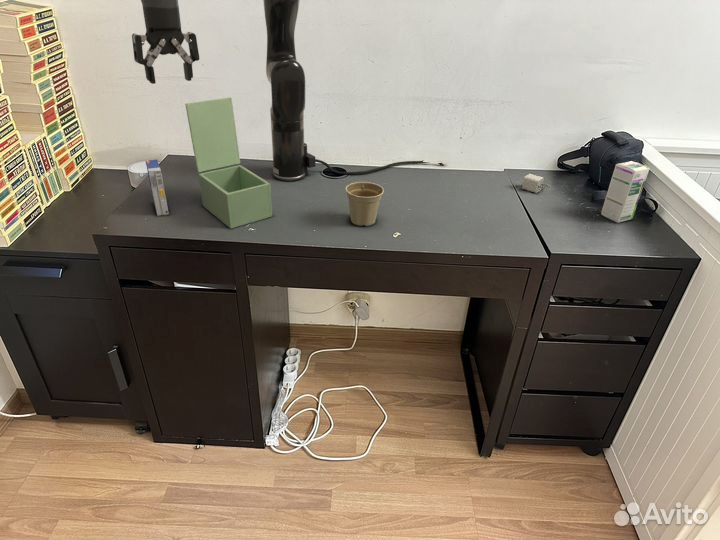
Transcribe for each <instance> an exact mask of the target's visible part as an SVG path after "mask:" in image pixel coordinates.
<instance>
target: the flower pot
mask: <svg viewBox="0 0 720 540" xmlns="http://www.w3.org/2000/svg"><path fill="white" fill-rule="evenodd" d="M344 191H345V192H346V195H347V198H348V206H349V216H350V222H351V223H352V224H353V225H355V226H359V227H361V226H365V227H369V226H371V225H374V224H375V223H376V221H377V220H376V219H377V214H378V210H379V206H380V201H381V199H382V196H383V195H384V193H385V189H384V187H383V186H382V185H380V184H378V183H376V182H375V183H374V182H371V181H355V182H352V183H349V184H347V185H346V186H345V190H344Z"/></svg>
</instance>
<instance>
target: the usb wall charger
mask: <svg viewBox="0 0 720 540" xmlns="http://www.w3.org/2000/svg"><path fill="white" fill-rule="evenodd" d="M544 181H545V178H544V177H543V176H539V175H535V174H532V173H528V174H527V175H525V176H524V178H523V182H522V185H521V186H522V187H521V190H525V191H528V192H531V193H534V194H538V193H539V192H541V190H545V191H547V190H548V189H550V188H551V185H549V184H545V183H544Z"/></svg>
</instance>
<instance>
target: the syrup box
mask: <svg viewBox="0 0 720 540" xmlns="http://www.w3.org/2000/svg"><path fill="white" fill-rule="evenodd" d="M650 169H651V168H650V167H649V166H647V165H644V164H642V163H639V162H636V161H632V160H630V161H626V162H620V163H616V164H615V167H614V169H613V173H612V176H611V180H610V183H609V186H608V189H607V192H606V195H605V198H604V202H603V206H602V208H601V212H600V215H601V216H603V217H604V218H606V219H608V220H611V221H612V222H614V223H617V224H620V223H622V222H626V221H630V220H631V221H632V220H633V218H634V216H635V213H636V210H637V206H638V204H639V201H640V197H641V195H642V192H643V189H644V186H645V183H646V180H647V177H648V175H649V172H650Z"/></svg>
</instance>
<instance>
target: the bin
mask: <svg viewBox="0 0 720 540" xmlns="http://www.w3.org/2000/svg"><path fill="white" fill-rule="evenodd" d="M197 174H198V182H199V188H200V196H201V204H202V207H204V208H205V209H206V210H207V211H209V212H210V213H211V214H212V215H214V216H215V218H217V219H218V220H219V221H220V222H222V223H223V224H224V225H226V227H228V228H229V229H233V228H234V229H235V228H238V227H241V226H244V225H248V224H251V223H255V222H258V221H261V220H265V219H268V218H272V217H273V201H272V184H271V183H270V182H268V181H267V180H265V179H264V178H262V177H260V176H259V175H257V174H255V173H254V172H252V171H251V170H249V169H247V168H246V167H244V166H243V165H242V164H237V165H231V166H227V167H222V168H218V169H213V170H208V171H204V172H199V173H197Z"/></svg>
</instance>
